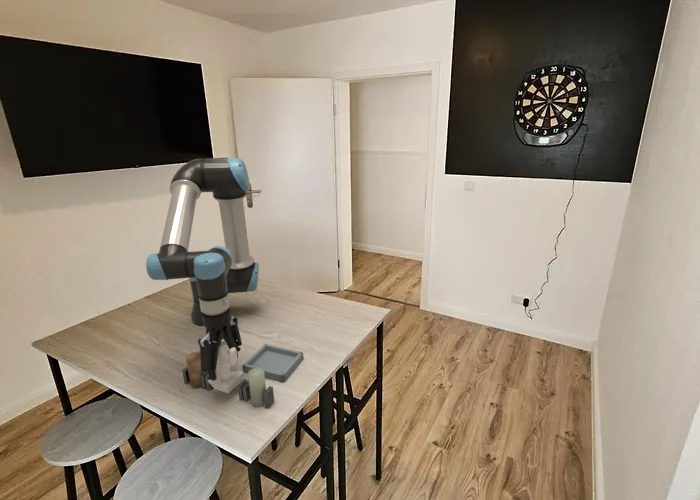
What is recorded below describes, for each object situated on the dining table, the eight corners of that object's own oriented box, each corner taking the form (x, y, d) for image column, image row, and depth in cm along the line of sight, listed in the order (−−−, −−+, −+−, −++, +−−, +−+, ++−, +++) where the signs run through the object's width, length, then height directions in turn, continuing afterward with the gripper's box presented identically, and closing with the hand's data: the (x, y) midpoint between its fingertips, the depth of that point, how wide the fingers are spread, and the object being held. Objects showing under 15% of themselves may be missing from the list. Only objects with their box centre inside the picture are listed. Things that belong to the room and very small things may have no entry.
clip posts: (184, 383, 112) (181, 370, 111) (191, 377, 115) (189, 364, 113) (268, 408, 102) (267, 394, 101) (274, 401, 105) (272, 387, 103)
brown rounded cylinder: (187, 386, 111) (182, 358, 108) (198, 377, 115) (193, 350, 112) (199, 390, 110) (194, 361, 106) (209, 380, 114) (204, 353, 110)
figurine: (223, 375, 113) (216, 333, 108) (247, 383, 110) (242, 340, 105) (206, 390, 107) (198, 346, 102) (231, 399, 103) (225, 354, 98)
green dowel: (248, 404, 104) (244, 375, 100) (257, 394, 108) (253, 366, 104) (261, 408, 102) (258, 379, 99) (270, 398, 106) (267, 369, 103)
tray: (243, 371, 118) (242, 365, 117) (265, 349, 129) (265, 343, 128) (283, 382, 112) (283, 375, 112) (303, 358, 124) (303, 352, 123)
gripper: (200, 330, 89) (212, 405, 97) (249, 295, 107) (256, 360, 115) (176, 325, 92) (190, 398, 100) (228, 291, 110) (237, 355, 117)
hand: (226, 378), depth 107 cm, fingers closed on figurine, 7 cm apart
